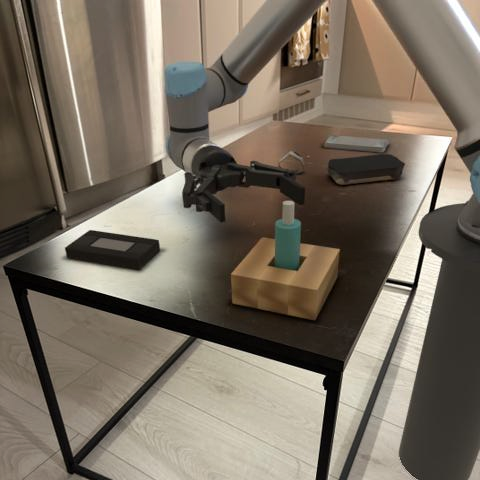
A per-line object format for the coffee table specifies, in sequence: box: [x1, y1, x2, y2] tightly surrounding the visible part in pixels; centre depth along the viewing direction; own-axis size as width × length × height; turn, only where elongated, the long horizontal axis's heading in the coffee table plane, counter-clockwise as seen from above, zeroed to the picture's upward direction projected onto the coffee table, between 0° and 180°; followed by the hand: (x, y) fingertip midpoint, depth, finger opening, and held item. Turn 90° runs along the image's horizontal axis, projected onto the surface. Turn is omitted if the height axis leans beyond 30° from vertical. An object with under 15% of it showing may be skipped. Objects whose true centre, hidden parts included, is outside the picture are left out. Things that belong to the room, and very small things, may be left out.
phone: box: [323, 134, 389, 154], centre depth 136 cm, size 8×16×1 cm, turn 67°
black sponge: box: [326, 153, 406, 186], centre depth 115 cm, size 16×8×4 cm, turn 101°
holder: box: [230, 237, 341, 321], centre depth 75 cm, size 13×13×5 cm
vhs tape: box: [64, 229, 161, 271], centre depth 87 cm, size 8×14×2 cm, turn 70°
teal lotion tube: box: [274, 200, 302, 271], centre depth 73 cm, size 4×4×14 cm
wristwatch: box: [277, 150, 305, 175], centre depth 119 cm, size 4×6×5 cm, turn 93°
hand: (264, 204), depth 76 cm, fingers open, 13 cm apart
